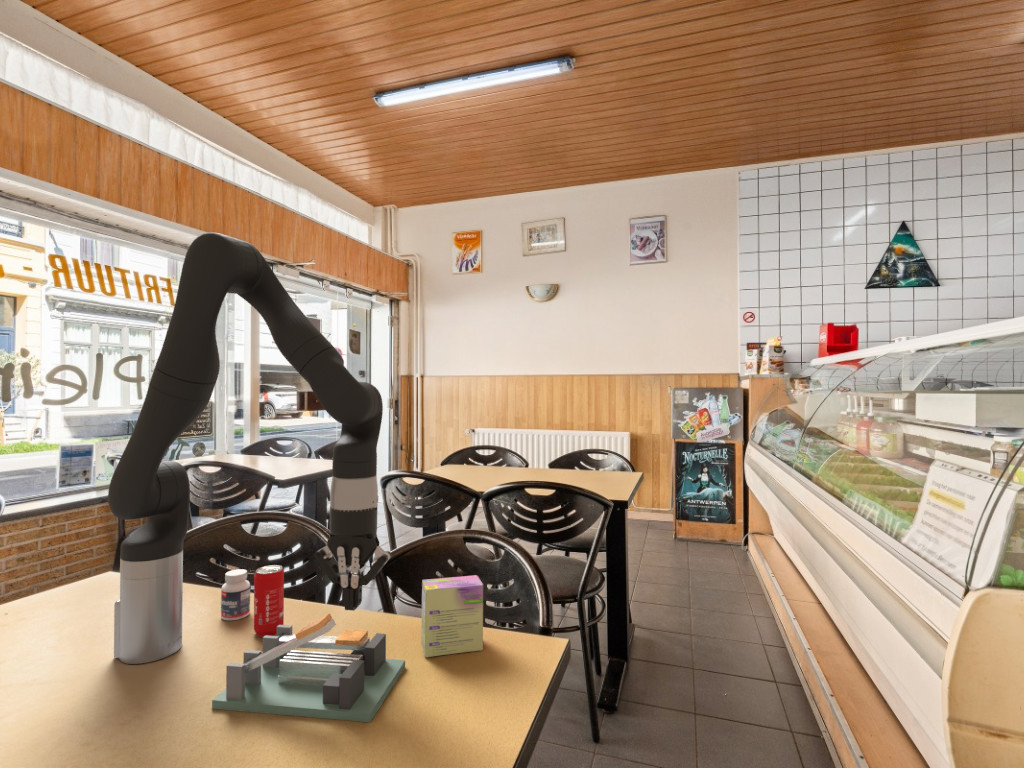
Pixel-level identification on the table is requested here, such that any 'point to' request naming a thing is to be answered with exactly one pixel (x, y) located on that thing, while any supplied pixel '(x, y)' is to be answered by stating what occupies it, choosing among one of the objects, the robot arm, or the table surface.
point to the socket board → (337, 699)
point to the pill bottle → (235, 595)
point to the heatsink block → (313, 667)
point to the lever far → (334, 641)
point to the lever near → (293, 642)
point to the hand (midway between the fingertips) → (351, 608)
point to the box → (452, 615)
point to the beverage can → (268, 600)
